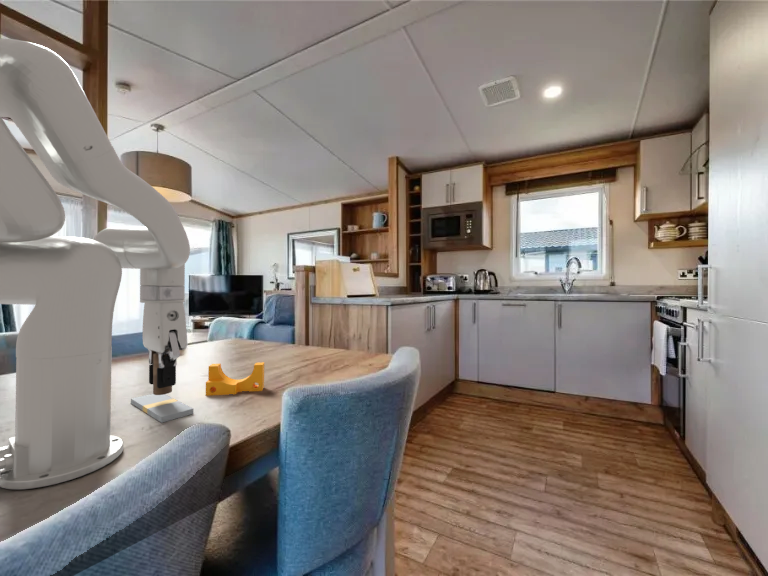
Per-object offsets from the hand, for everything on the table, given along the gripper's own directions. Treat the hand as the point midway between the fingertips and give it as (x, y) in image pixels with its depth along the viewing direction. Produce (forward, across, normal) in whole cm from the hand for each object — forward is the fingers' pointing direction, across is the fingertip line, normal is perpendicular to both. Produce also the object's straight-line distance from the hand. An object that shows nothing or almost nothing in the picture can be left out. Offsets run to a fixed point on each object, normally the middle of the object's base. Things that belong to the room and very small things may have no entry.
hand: (162, 383), depth 67 cm
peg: (+2, 0, 0) cm, 2 cm away
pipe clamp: (+6, -2, -15) cm, 16 cm away
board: (+5, 0, 0) cm, 5 cm away
